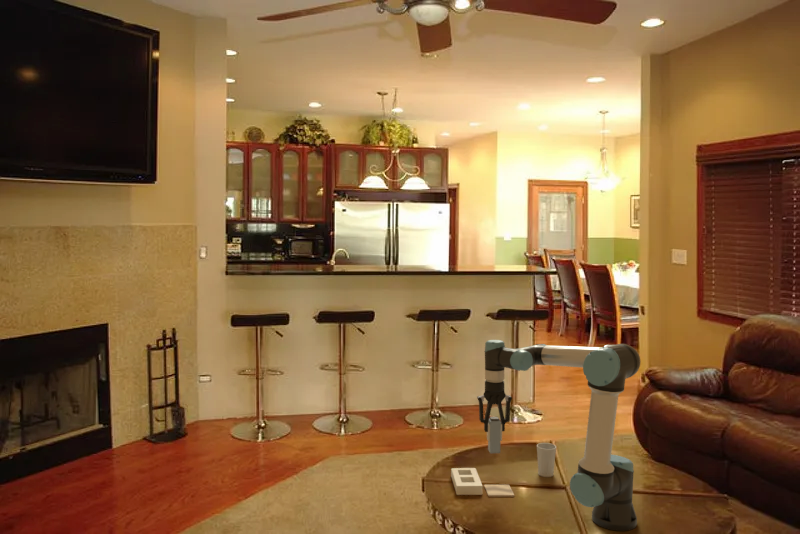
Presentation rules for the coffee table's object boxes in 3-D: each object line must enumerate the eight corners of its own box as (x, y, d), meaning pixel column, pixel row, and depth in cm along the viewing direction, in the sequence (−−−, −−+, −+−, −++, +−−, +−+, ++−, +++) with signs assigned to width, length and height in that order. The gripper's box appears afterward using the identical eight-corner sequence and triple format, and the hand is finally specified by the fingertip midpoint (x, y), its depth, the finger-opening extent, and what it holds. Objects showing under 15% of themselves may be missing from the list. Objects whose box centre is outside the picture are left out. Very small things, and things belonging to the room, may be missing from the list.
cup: (557, 477, 269) (558, 449, 268) (537, 477, 269) (538, 449, 268) (553, 470, 277) (554, 442, 276) (534, 470, 277) (535, 442, 276)
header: (482, 494, 252) (482, 485, 252) (456, 494, 251) (456, 486, 251) (475, 476, 270) (475, 468, 269) (451, 476, 269) (451, 468, 269)
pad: (514, 496, 250) (514, 495, 250) (488, 496, 250) (488, 495, 250) (508, 485, 260) (509, 484, 260) (484, 486, 260) (484, 484, 260)
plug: (500, 453, 252) (500, 419, 251) (490, 453, 252) (490, 419, 251) (498, 449, 256) (498, 416, 255) (488, 449, 256) (488, 416, 255)
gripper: (514, 377, 256) (513, 436, 258) (471, 378, 255) (471, 437, 257) (518, 382, 249) (518, 442, 250) (474, 382, 248) (474, 443, 249)
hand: (494, 439), depth 254 cm, fingers closed on plug, 4 cm apart
